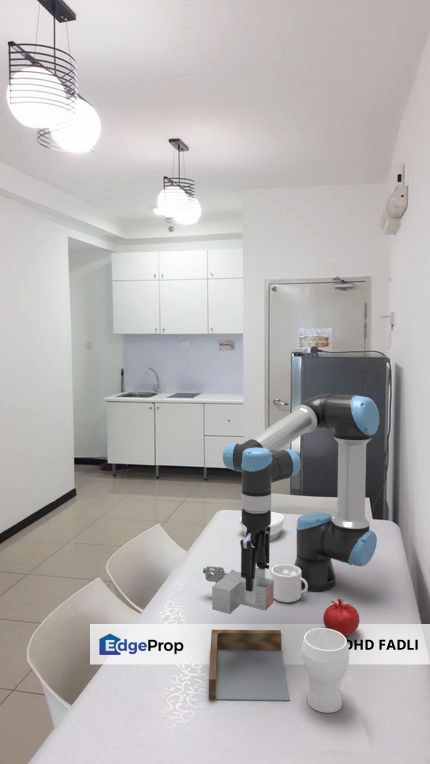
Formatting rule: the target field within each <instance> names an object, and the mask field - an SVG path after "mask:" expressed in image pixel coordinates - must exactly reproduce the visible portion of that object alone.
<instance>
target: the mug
mask: <svg viewBox="0 0 430 764" xmlns="http://www.w3.org/2000/svg"><path fill="white" fill-rule="evenodd" d="M270 580H274V595H273V600H274V599H275V601H278V602H281V603H285V604H286V603H288V604H290V603H294V602H297V601H298V600H299V599H301V597H302V594H305V593H306V592H307V591H308V590H307V589H308V584H307V582H306V580H305V579H303V578H302V572H301V569H300V568H299V567H297V566H294V564H290V563H280V564H276V565H273V566H272V567H271V570H270ZM301 581H303V582H304V583H305V589H302V588H301Z"/></svg>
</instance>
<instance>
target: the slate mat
mask: <svg viewBox="0 0 430 764" xmlns="http://www.w3.org/2000/svg"><path fill="white" fill-rule="evenodd" d="M282 651H283V650H282V649H281V650H217V678H216V700H215V701H237V702H238V701H242V702H243V701H246V702H247V701H250V702H251V701H252V702H263V701H264V702H291V701H290V694H289V687H288V682H287V676H286V669H285V662H284V658H283V652H282Z"/></svg>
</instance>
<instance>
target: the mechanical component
mask: <svg viewBox="0 0 430 764" xmlns="http://www.w3.org/2000/svg"><path fill="white" fill-rule="evenodd" d="M231 571H234V569H230V571H229V572H226V571H225V568H224V567H222V566H210V565H209V566H208V565H206V567H203V570H202V573H203V574H205V575H204V576H205V580H206V581H207V582H212V583H215V584H216V583H217V582H219V581H220V580H221V579H222V578H224V577H225V576H226V575H228V574H229V573H230V572H231Z"/></svg>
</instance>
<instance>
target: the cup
mask: <svg viewBox="0 0 430 764" xmlns="http://www.w3.org/2000/svg"><path fill="white" fill-rule="evenodd" d="M300 651H301V659H302V662H303V666H304V670H305V671H306V673H307V676H308V681H309V682H308V683H309V688H308V693H307V703H308V705H309V706H310V707H311V708H312V709H314V710H315V711H318V712H320V713H325V714H330V713H335V712H338V711H339V710H340V709H341V708H342V706H343V701H342V699H343V698H342V692H341V682H342V679H343V678H344V676H345V674H346V673H347V670H348V667H349V662H350V649H349V644H348V641H347V638H346V637H345V635H344V636H343V635H342V634H341V633H340V632H337V631H335V630H332V629H327V628H326V627H318V628H313V629H312V628H311V629H310V630H309V631H308V630H307V632H305V634H304V636H303V640H302V644H301V650H300Z"/></svg>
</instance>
